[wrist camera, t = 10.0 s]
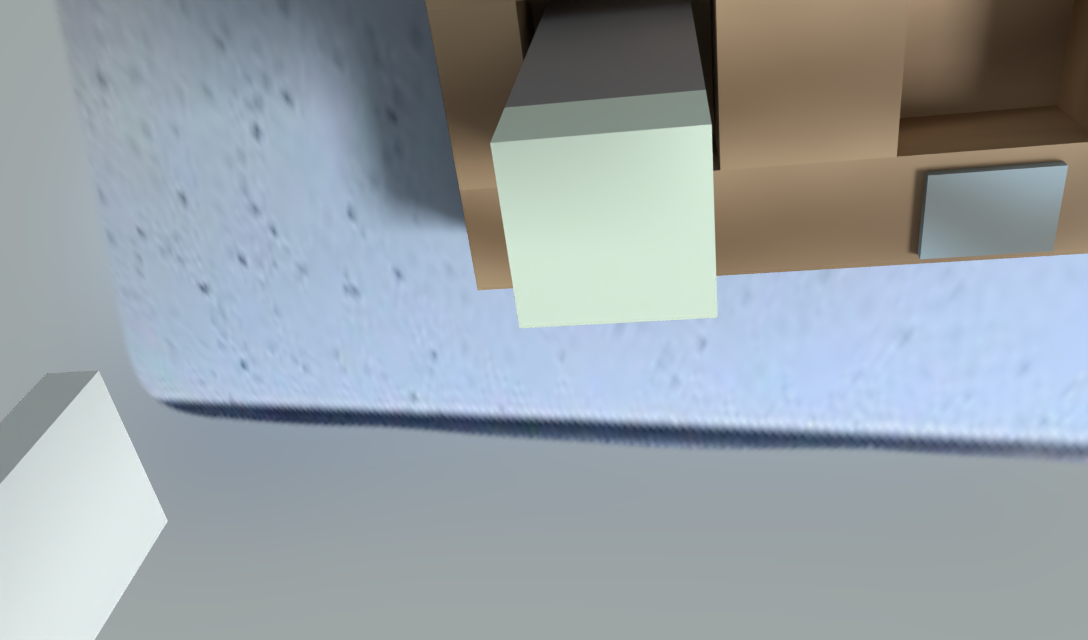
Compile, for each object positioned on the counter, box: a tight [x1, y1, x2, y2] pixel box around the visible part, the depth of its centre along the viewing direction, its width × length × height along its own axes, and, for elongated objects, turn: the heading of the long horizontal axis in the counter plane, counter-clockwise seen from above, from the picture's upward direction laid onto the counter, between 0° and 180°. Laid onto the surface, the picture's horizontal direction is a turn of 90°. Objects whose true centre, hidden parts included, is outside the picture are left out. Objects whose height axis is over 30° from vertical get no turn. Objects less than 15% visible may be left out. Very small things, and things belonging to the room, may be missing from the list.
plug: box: [490, 0, 718, 328], centre depth 23 cm, size 4×4×12 cm
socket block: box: [425, 0, 1088, 290], centre depth 26 cm, size 12×20×4 cm, turn 97°
